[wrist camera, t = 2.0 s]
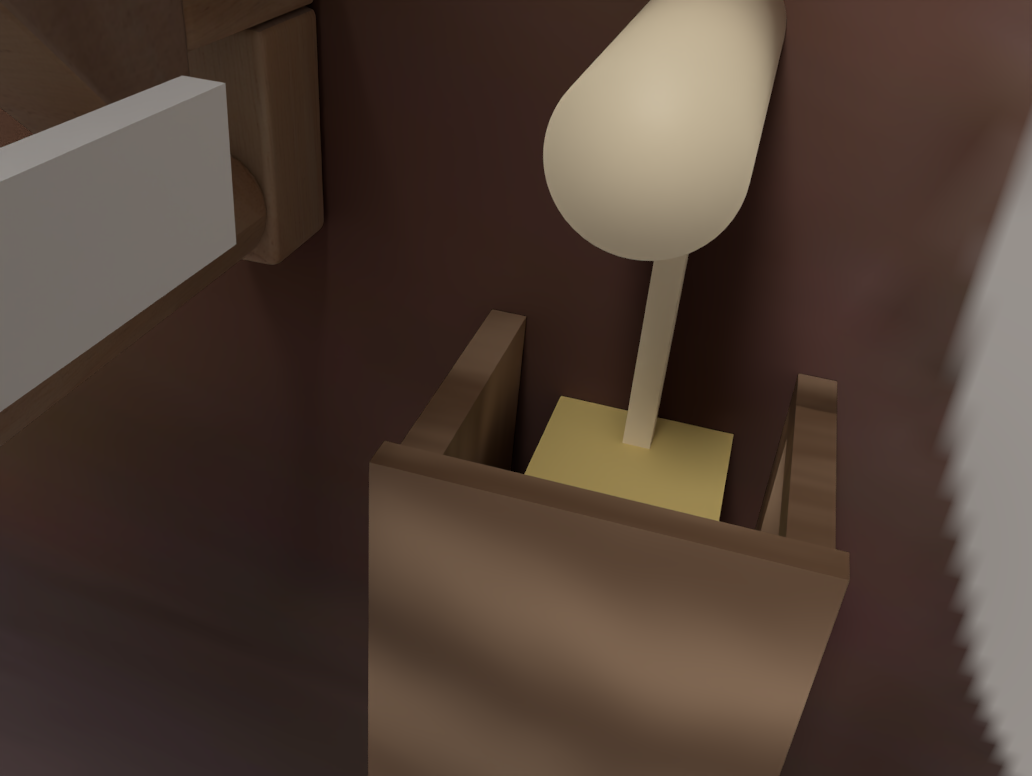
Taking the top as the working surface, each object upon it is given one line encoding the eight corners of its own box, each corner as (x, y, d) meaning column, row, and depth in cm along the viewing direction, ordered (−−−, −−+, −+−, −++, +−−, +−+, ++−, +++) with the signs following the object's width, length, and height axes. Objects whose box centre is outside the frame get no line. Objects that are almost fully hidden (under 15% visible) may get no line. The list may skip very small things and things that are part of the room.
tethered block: (619, -61, 26) (484, 29, 16) (848, -31, 25) (851, 85, 15) (541, 547, 38) (435, 813, 28) (695, 586, 37) (642, 878, 27)
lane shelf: (487, 294, 33) (369, 462, 25) (847, 369, 31) (849, 580, 22) (465, 580, 40) (367, 785, 32) (758, 658, 38) (734, 899, 29)
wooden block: (316, -130, 28) (-292, -39, 13) (329, 227, 33) (-80, 574, 19) (198, -142, 28) (-505, -69, 14) (231, 209, 34) (-238, 529, 19)
